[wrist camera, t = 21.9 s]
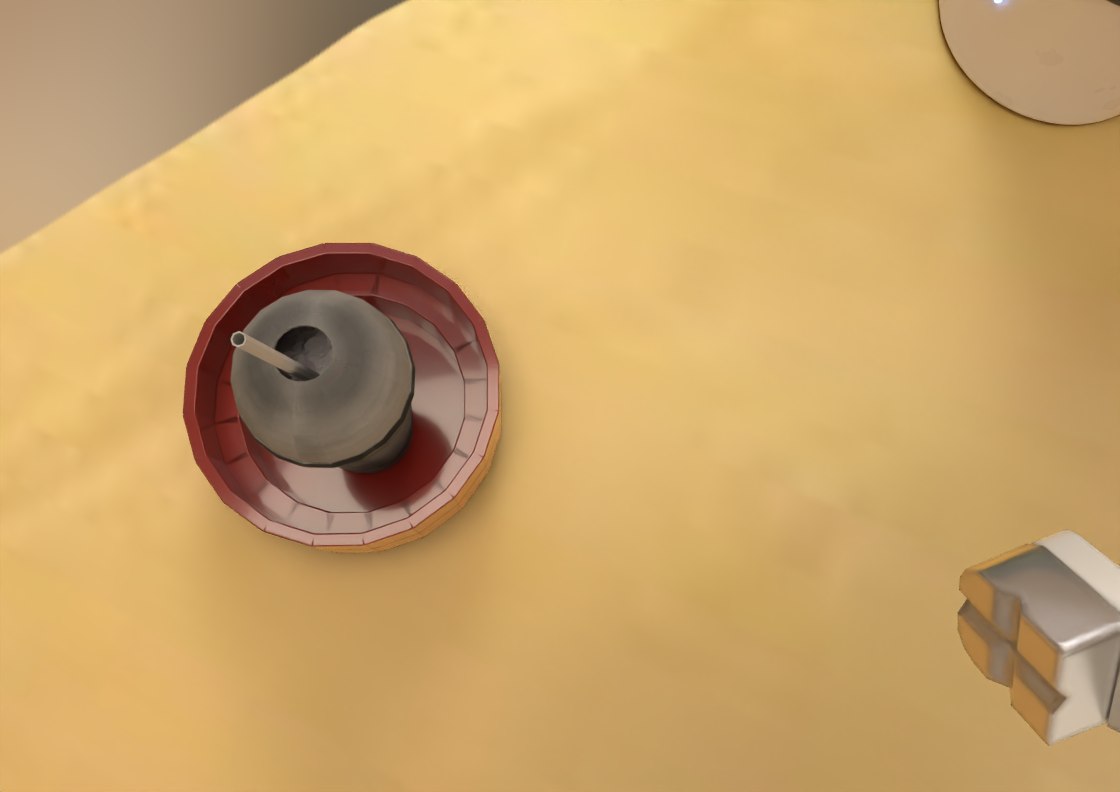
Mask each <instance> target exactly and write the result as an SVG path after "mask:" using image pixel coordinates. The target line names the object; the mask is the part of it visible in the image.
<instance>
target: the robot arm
mask: <svg viewBox="0 0 1120 792" xmlns="http://www.w3.org/2000/svg"><path fill="white" fill-rule="evenodd" d="M939 10H940V19H941V25H942V29H943V33H944V36H945V39H946V41H947V44H948V46H949V48H950V50H951V52H952V54H953V56H954V58H955V59H956V61H957V63H958V64H959V66H960V67H961V68H962V70H963V71H964V72H965V74H966V75H967V76H968V77H969V78H970V79H971V80H972V81H973V82H974V83H975V84H976V85H977V86H978V87H979V88H980V89H981V90H982V91H983V92H984V93H986V94H987V95H988V96H990V97H991V98H992V99H994V100H995V101H997V102H998V103H1000V104H1001V105H1003V106H1005V107H1007V108H1009V109H1011V110H1013V111H1015V112H1017V113H1019V114H1021V115H1024V116H1027V117H1029V118H1032V119H1036V120H1039V121H1044V122H1048V123H1055V124H1064V125H1079V124H1089V123H1095V122H1100V121H1103V120H1107V119H1110V118H1112V117H1115V116H1118V115H1120V0H939ZM959 590H960V591H961V592H962V593H963V594H964V595H965V597H966V598H967V600H966V601H965V603H964V604H963V606H962V607H961V609H960V610H959V612H958V632H959V635H960V638H961V640H962V643H963V646H964V648H965V650H966V652H967V653H968V655H969V656H970V658H971V660H972V661H973V663H974V664H975V665H976V666H977V668H978V669H979V670H980V671H981V672H982V673H983V674H984V676H985V677H986V678H987V679H989V680H992V681H994V682H997V683H999V684H1002V685H1004V686H1007V687H1009V688H1010V698H1011V706H1012V707H1013V708H1014V709H1015V710H1016V711H1017V712H1018V713H1019V714H1020V716H1021V717H1022V718H1023V719H1024V720H1025V721H1026V722H1027V723H1028V724H1029V725H1030V727H1031V728H1032V729H1033V730H1034V731H1035V732H1036V733H1037V734H1038V735H1039V736H1040V738H1041V739H1042V740H1043V741H1044V742H1045V743H1046V744H1047V745H1048V746H1049V745H1052V744H1054V743H1057V742H1059V741H1062V740H1064V739H1067V738H1069V737H1072V736H1074V735H1077V734H1079V733H1082V732H1084V731H1087V730H1089V729H1092V728H1094V727H1097V726H1099V725H1102V724H1104V723H1107V722H1108V724H1107V727H1109V728H1111V729H1113V730H1115V731H1117V732H1119V733H1120V567H1119V566H1117V565H1116V564H1115V563H1114V562H1112V561H1111V560H1110V559H1109V558H1107V557H1106V556H1105V555H1104V554H1102V553H1101V552H1100V551H1099V550H1097V549H1096V548H1095V547H1094V546H1092V545H1091V544H1090V543H1089V542H1087V541H1086V540H1085V539H1084V538H1082V537H1081V536H1080V535H1078V534H1077V533H1075V532H1072V531H1069V530H1063V531H1059V532H1057V533H1054V534H1052V535H1050V536H1047V537H1045V538H1043V539H1040V540H1038V541H1036V542H1033V543H1031V544H1025V545H1022V546H1020V547H1018V548H1015V549H1013V550H1011V551H1008V552H1006V553H1003V554H1001V555H999V556H996V557H994V558H991V559H989V560H987V561H984V562H982V563H980V564H977V565H975V566H972V567H970V568H968V569H966V570H965V571H964V572H963V573H962V575H961V576H960V585H959Z"/></svg>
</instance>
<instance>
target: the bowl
mask: <svg viewBox="0 0 1120 792" xmlns="http://www.w3.org/2000/svg"><path fill="white" fill-rule="evenodd" d="M306 290H336V291H339V292H342V293H345V294H348V295H351V296H354V297H357V298H360V299H362V300H364V301H366V302H367V303H369V304H371V305H373V306H374V307H375V308H377V309H378V310H379V311H381V312H382V313H383V314H385V315H386V316H387V317H389V318H390V319H392V320H393V321H394V323H395V324H396V326H397V327H398V329H399V330H400V331H401V333H402V334H403V336H404V337H405V339H406V340H407V341H408V344H409V347H410V351H411V354H412V358H413V361H414V364H415V389H414V397H413V400H412V402H411V406H412V413H413V435H412V441H411V444H410V446H409V449H408V451H407V453H406V454H405V455H404V456H403V458H402V459H401V460H400V461H399V462H398V463H396V464H395V465H394V466H392V467H391V468H389V469H387V470H384V471H381V472H377V473H355V472H352V471H348V470H345V469H341V468H338V467H335V468H308V467H302V466H299V465H296V464H293V463H290V462H288V461H285V460H282V459H279V458H277V457H276V456H274V455H273V454H272V453H271V452H269V451H268V450H267V449H265V448H264V447H263V446H261V445H260V444H259V443H258V442H256V441H255V439H254V438H253V436H252V435H251V433H250V432H249V430H248V428H247V427H246V425H245V424H244V422H243V421H242V419H241V417H240V413H239V411H238V409H237V406H236V402H235V398H234V393H233V389H232V385H231V371H232V360H233V354H234V351H235V349H236V346H234V345H232V342H231V337H232V335H233V333H235V332H238V331H240V332H242V333H243V331H244V329H245V328H246V327H247V325H248V324H249V323H250V322H251V321H252V320H253V319H254V317H255V316H256V315H257V314H258V313H259V312H260V311H261V310H262V309H264V308H265V307H267V306H269V305H270V304H272V303H273V302H275V301H277V300H278V299H280V298H281V297H284V296H287V295H291V294H295V293H298V292H302V291H306ZM183 414H184V415H183V418H184V421H185V425H186V429H187V433H188V436H189V440H190V444H191V448H192V452H193V455H194V459H195V461H196V464H197V465H198V467H199V468H200V469H201V471H202V472H203V474H204V475H205V477H206V478H207V480H208V481H209V483H210V484H211V486H212V487H213V488H214V490H215V491H216V493H217V494H218V496H219V497H220V499H221V500H222V501H223V503H225V504H226V505H227V506H229V507H230V508H231V509H233V510H234V511H236V512H237V513H238V514H240V515H241V516H242V517H244V518H245V519H247V520H248V521H249V522H251V523H252V524H253V525H255V526H256V527H257V528H259V529H260V530H262V531H264V532H266V533H269V534H272V535H275V536H279V537H282V538H285V539H288V540H292V541H295V542H298V543H301V544H305V545H308V546H311V547H315V548H319V549H323V550H327V551H331V552H336V553H346V552H381V551H385V550H388V549H391V548H394V547H396V546H399V545H402V544H405V543H408V542H411V541H414V540H417V539H420V538H423V537H424V536H426V535H428V534H429V533H430V532H432V531H433V530H434V529H436V528H437V527H439V526H440V525H441V524H443V523H444V522H445V521H447V520H448V519H449V518H451V517H452V516H453V515H455V514H456V513H457V512H459V511H460V510H461V509H462V508H463V507H464V505H465V504H466V503H467V501H468V500H469V498H470V497H471V496H472V494H473V493H474V491H475V490H476V489H477V487H478V486H479V485H480V483H481V482H482V480H483V479H484V478H485V476H486V475H487V473H488V471H489V468H490V465H491V462H492V458H493V455H494V452H495V449H496V446H497V443H498V440H499V437H500V434H501V383H500V369H499V362H498V359H497V356H496V353H495V350H494V347H493V344H492V341H491V338H490V336H489V333H488V330H487V327H486V324H485V321H484V320H483V318H482V316H481V315H480V314H479V312H478V311H477V310H476V309H475V307H474V306H473V305H472V303H471V302H470V301H469V299H468V298H467V297H466V296H465V294H464V293H463V292H462V290H461V289H460V288H459V286H458V285H457V284H455V282H454V281H452V280H451V279H449V278H448V277H446V276H445V275H443V274H442V273H440V272H439V271H438V270H436V269H435V268H433V267H432V266H430V265H429V264H427V263H426V262H424V261H423V260H421V259H420V258H418V257H417V256H414V255H410V254H407V253H404V252H400V251H397V250H394V249H391V248H387V247H384V246H381V245H377V244H374V243H325V244H320V245H316V246H313V247H310V248H306V249H303V250H299V251H296V252H293V253H289V254H286V255H283V256H279V257H278V258H275V259H274V260H272V261H271V262H269V263H268V264H266V265H265V266H263V267H261V268H260V269H258V270H257V271H255V272H254V273H252V274H251V275H249V276H248V277H246V278H245V279H243V280H242V281H240V282H238V283H237V284H236V285H235V286H234V287H233V289H232V290H231V291H230V292H229V293H228V295H227V296H226V297H225V298H224V299H223V300H222V302H221V303H220V304H219V305H218V306H217V308H216V309H215V310H214V311H213V312H212V314H211V315H210V316H209V317H208V318H207V319H206V322H205V323H204V325H203V327H202V330H201V332H200V335H199V337H198V339H197V342H196V344H195V347H194V349H193V351H192V354H191V356H190V359H189V361H188V363H187V367H186V378H185V391H184V404H183Z"/></svg>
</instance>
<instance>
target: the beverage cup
mask: <svg viewBox="0 0 1120 792" xmlns="http://www.w3.org/2000/svg"><path fill="white" fill-rule="evenodd" d="M231 342H232V345H234V346H236V349H235V351H234V354H233V360H232V371H231V385H232V389H233V393H234V398H235V402H236V406H237V409H238V411H239V413H240V417H241V419H242V421H243V422H244V424H245V425H246V427H247V428H248V430H249V432H250V433H251V435H252V436H253V438H254V439H255V441H256V442H258V443H259V444H260V445H261V446H263V447H264V448H265V449H267V450H268V451H269V452H271V453H272V454H273V455H274V456H276V457H277V458H279V459H282V460H285V461H288V462H290V463H293V464H296V465H299V466H302V467H308V468H335V467H338V468H341V469H345V470H348V471H352V472H355V473H377V472H381V471H384V470H387V469H389V468H391V467H392V466H394V465H395V464H396V463H398V462H399V461H400V460H401V459H402V458H403V456H404V455H405V454H406V453H407V451H408V449H409V446H410V444H411V441H412V435H413V413H412V406H411V402H412V400H413V397H414V389H415V364H414V361H413V358H412V354H411V351H410V347H409V344H408V341H407V340H406V339H405V337H404V336H403V334H402V333H401V331H400V330H399V329H398V327H397V326H396V324H395V323H394V321H393V320H392V319H390V318H389V317H387V316H386V315H385V314H383V313H382V312H381V311H379V310H378V309H377V308H375V307H374V306H373V305H371V304H369V303H367V302H366V301H364V300H362V299H360V298H357V297H354V296H351V295H348V294H345V293H342V292H339V291H336V290H306V291H302V292H298V293H295V294H291V295H287V296H284V297H281V298H280V299H278V300H277V301H275V302H273V303H272V304H270V305H269V306H267V307H265V308H264V309H262V310H261V311H260V312H259V313H258V314H257V315H256V316H255V317H254V319H253V320H252V321H251V322H250V323H249V324H248V325H247V327H246V328H245V329H244V331H243V333H242V332H240V331H238V332H235V333H233V335H232V337H231Z"/></svg>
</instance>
